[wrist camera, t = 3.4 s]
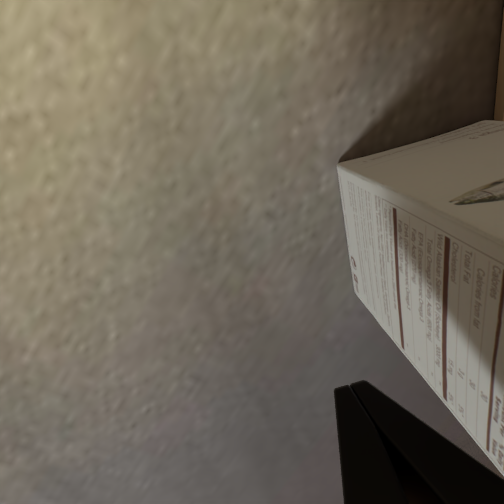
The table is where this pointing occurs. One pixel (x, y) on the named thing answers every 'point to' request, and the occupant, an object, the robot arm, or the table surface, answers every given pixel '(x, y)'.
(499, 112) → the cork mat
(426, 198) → the supplement box
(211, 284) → the table surface
